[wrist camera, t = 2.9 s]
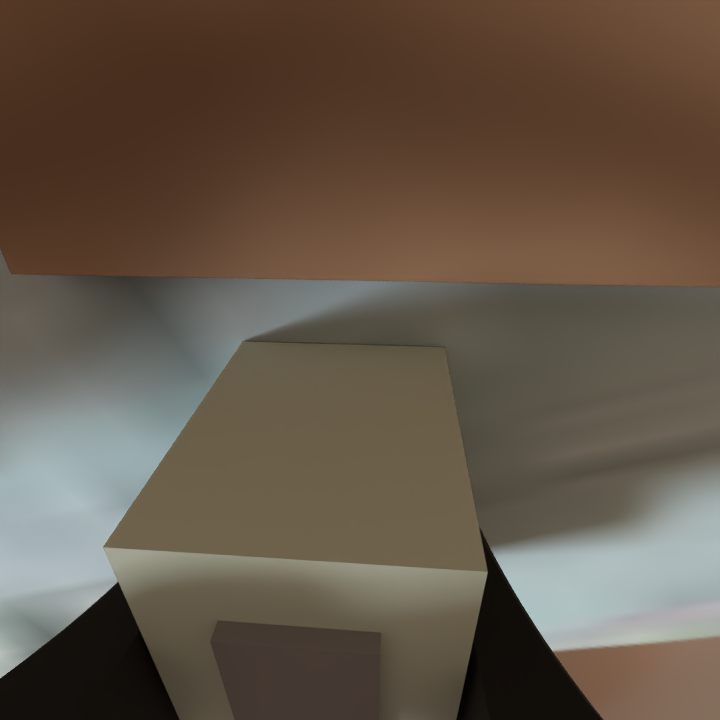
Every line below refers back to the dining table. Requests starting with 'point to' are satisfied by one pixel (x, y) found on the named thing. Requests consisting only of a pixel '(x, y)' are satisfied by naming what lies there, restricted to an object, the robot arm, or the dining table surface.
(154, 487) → the cabinet block
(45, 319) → the dining table surface
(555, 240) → the wall board
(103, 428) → the dining table surface
